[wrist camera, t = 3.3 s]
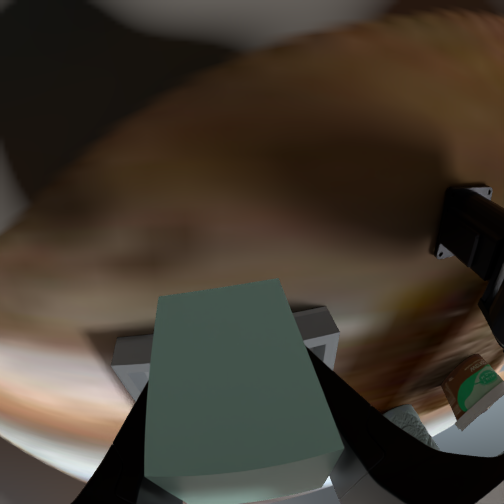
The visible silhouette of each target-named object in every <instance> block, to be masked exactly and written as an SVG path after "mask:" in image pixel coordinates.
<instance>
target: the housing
mask: <svg viewBox="0 0 504 504" xmlns="http://www.w3.org/2000/svg"><path fill="white" fill-rule="evenodd" d="M292 314H293V316H294V319H295V321H296V324H297V326H298V329H299V331H300V334H301V336H302V339H303V341H304V344H305V346H307V347H308V348H309V349H310V350H311V351H312V352H313V353H314V354H315V355H316V356H317V357H318V358H320V359H321V360H322V361H323V362H324V363H325V364H326V365H327V366H328V367H329V368H330V369H332V370H333V367H334V362H335V357H336V351H337V346H338V340H339V334H340V331H339V329H338V328H337V326H336V324H335V322H334V320H333V318H332V316H331V314H330V312H329V311H328V309H327V307H326V306H325V307H320V308H315V309H311V310H306V311H301V312H295V313H292ZM153 335H154V334H149V335H139V336H129V337H117V341H116V345H115V349H114V353H113V358H112V363H111V367H112V368H113V370H114V371H115V373H116V374H117V376H118V377H119V379H120V380H121V382H122V383H123V385H124V386H125V388H126V389H127V391H128V392H129V393H130V395H131V396H132V398H133V399H134V400H135V402H136V401H137V399H138V397H139V395H140V394H141V392H142V390H143V388H144V387H145V385H146V383H147V382H148V380H149V371H150V361H151V352H152V343H153Z"/></svg>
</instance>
